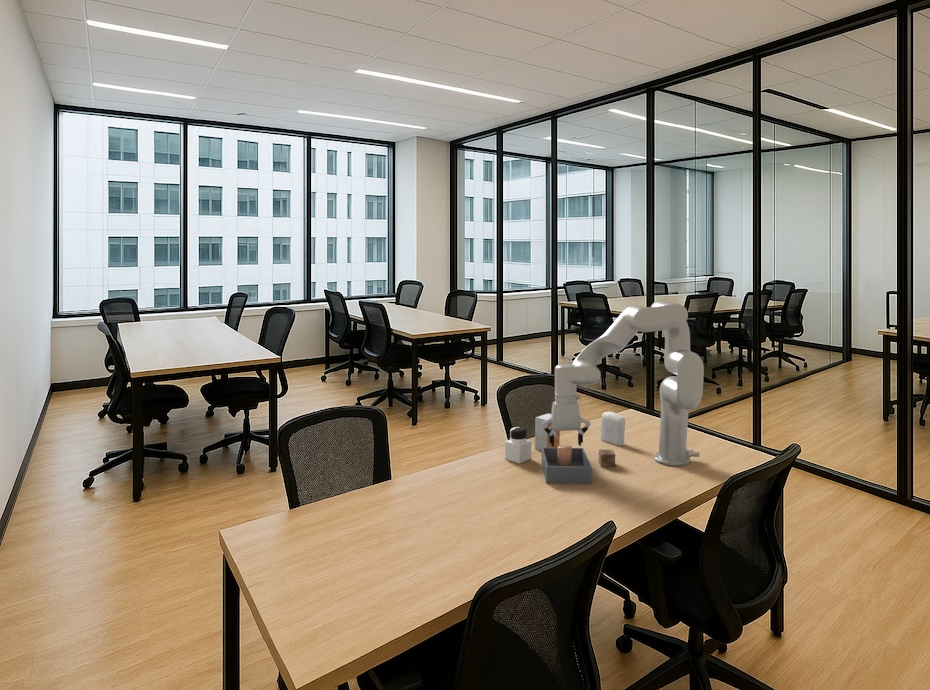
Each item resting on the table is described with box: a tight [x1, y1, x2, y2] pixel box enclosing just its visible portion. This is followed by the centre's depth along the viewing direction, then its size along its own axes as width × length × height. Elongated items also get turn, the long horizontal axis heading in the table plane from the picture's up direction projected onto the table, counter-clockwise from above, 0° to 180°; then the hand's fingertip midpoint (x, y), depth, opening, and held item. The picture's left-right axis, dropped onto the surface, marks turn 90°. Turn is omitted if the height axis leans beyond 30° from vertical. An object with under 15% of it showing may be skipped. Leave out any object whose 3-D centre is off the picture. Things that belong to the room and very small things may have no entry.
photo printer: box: [600, 411, 626, 447], centre depth 244 cm, size 10×4×12 cm, turn 36°
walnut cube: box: [598, 449, 616, 468], centre depth 221 cm, size 5×5×5 cm
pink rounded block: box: [557, 444, 573, 466], centre depth 218 cm, size 5×5×7 cm
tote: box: [540, 447, 593, 485], centre depth 213 cm, size 15×19×6 cm
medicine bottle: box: [504, 426, 532, 464], centre depth 226 cm, size 7×7×12 cm
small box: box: [534, 413, 561, 452], centre depth 237 cm, size 8×6×13 cm
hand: (566, 444), depth 217 cm, fingers open, 9 cm apart
